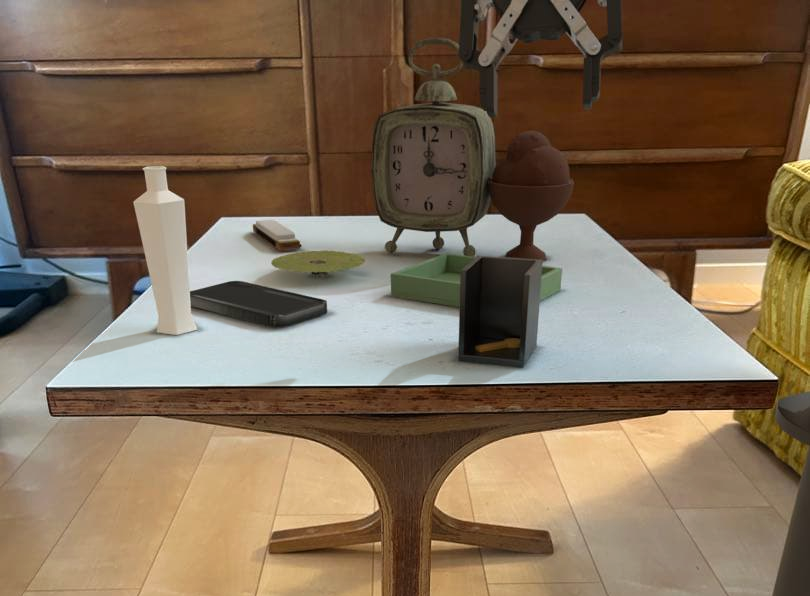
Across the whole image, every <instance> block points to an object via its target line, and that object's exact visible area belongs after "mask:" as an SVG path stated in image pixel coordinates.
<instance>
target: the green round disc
mask: <svg viewBox="0 0 810 596" xmlns="http://www.w3.org/2000/svg"><path fill="white" fill-rule="evenodd" d="M365 263H366V260H365V258H364V257H362V255H359V254H356V253H351V252H345V251H340V250H339V251H335V250H307V251H298V252H293V253H287V254H284V255H280V256H277V257H275V258H273V259H272V260H271V263H270V265H271V266H272V267H273V268H276V269H279V270H283V271H286V272H287V271H288V272H298V273H310V274H311V276H317V277H318V278H322V274H324V276H325V277H329V272H338V271H345V270H350V269H354V268H355V269H356V268H357V267H360V266H362V265H364V264H365Z"/></svg>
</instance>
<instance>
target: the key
mask: <svg viewBox="0 0 810 596" xmlns="http://www.w3.org/2000/svg"><path fill="white" fill-rule="evenodd" d="M507 347H509V348H519V347H520V339H518V338H508V339H505V340H504V341H501V342H495V343H490V344H484V345H478V346H476V350H477V351H479V352H484V351H490V350H496V349H502V348H507Z"/></svg>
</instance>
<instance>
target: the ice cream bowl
mask: <svg viewBox="0 0 810 596" xmlns="http://www.w3.org/2000/svg"><path fill="white" fill-rule="evenodd" d="M505 155H506V158H504V159H502V160H500V162H499V163H498V164H496V167H495V168H494V172H493V174H492V178H490V179H489V180H488V187H489V194H490V197H491V202H492V205H493V206H494V208H495V209H496V210H497V212H499V214H500V215H501V216H502V217H504V218H505V219H506V220H508V221H509V222H511V223H513V224H516V225H518V226H519V230H520V239H519V244H518V245H516V246H514V247H513V248H511V249H510V250H508V251H506V253H505V256H504V257H507V258H522V259H537V260H543V262H544V261H547V255H546V252H545V251H544V250H542V249H541V248H539V247H538V246H536V245H535V244H534V237H535V230H536V228H537V226H539V225H542V224H544V223H547V222H549V221H550V220H552V219H553V218H554V217H556V216H557V215H558V214H559V213H560V212H561V211H562V210H563V209H564V208H565V207H566V206H567V204H568V203H569V200H570V198H571V197H572V194H573V190H574V187H575V181H574V180H573V178H571V175H570V167H569V163H568V158H567V156H565V155H564V154H563V153H562V152H561V151H560V149H557V148H555V147H553V146H552V145H551V142H550V140H549V139H548V138H547V136H545V134H543V133H541V132H540V131H535V130H527V131H523V132H521V133H517V134H515V136H514V137H513V138H512V139H511V141H510V143H509V144H508V145H507V150H506V154H505Z"/></svg>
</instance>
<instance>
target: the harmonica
mask: <svg viewBox="0 0 810 596" xmlns="http://www.w3.org/2000/svg"><path fill="white" fill-rule="evenodd" d="M252 232H254V233H255V234H256V236H257V237H258V238H260V239H261V240H262V241H264V242H265V243H267V244H268V245H269V246H270V247H272V248H273V249H275V250H278V251H287V250H299V249H301V248H302V244H301V241H300V240H299V239H298V238H296V233H295V231H292V230H291V229H290V228H288V227H287V226H285V225H283V224H282V223H280V222H278V221H277V220H275V219H262V220H256V221H255V223H252Z"/></svg>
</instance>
